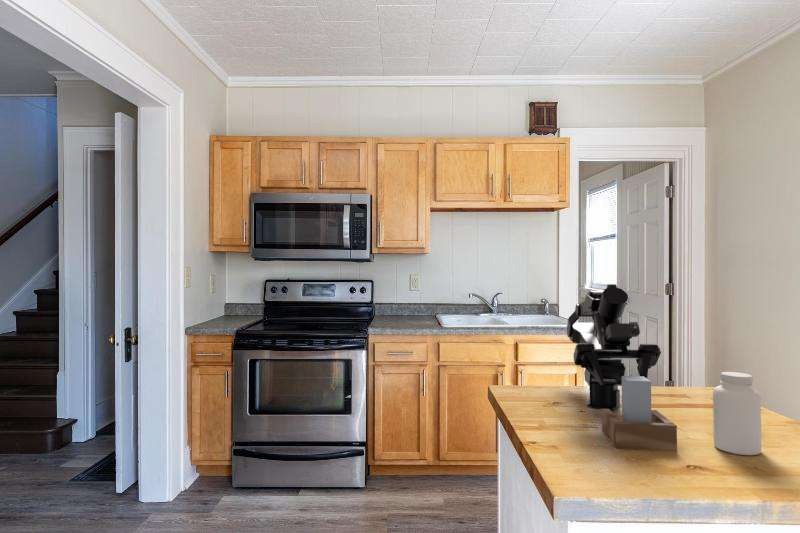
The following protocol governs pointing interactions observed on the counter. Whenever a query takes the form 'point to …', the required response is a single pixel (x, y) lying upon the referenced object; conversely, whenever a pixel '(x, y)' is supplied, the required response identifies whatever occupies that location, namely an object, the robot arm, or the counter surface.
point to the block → (636, 399)
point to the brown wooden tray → (640, 432)
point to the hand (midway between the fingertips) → (624, 385)
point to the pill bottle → (737, 415)
